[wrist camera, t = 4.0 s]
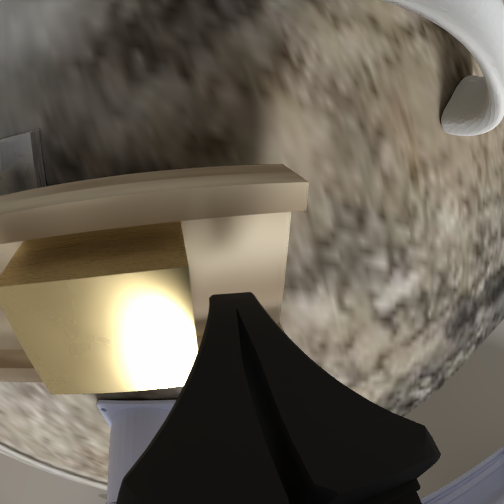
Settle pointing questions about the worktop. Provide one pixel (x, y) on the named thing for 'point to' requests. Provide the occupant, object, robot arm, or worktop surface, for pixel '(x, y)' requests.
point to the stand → (21, 163)
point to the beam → (162, 211)
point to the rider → (104, 309)
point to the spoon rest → (485, 53)
